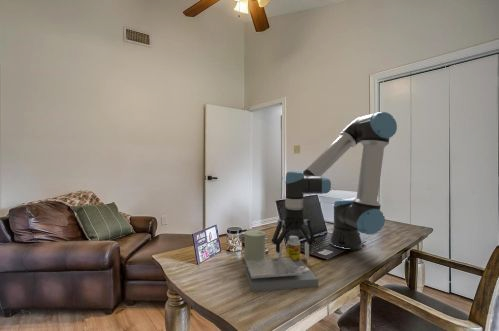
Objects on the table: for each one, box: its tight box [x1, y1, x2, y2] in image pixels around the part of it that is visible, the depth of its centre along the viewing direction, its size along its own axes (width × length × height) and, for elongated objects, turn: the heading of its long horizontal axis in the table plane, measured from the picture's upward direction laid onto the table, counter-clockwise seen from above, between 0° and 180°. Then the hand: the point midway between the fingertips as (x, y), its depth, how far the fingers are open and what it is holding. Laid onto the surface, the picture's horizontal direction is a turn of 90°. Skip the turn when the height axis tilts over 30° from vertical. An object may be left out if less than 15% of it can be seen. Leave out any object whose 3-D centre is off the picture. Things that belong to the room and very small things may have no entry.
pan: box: [244, 257, 303, 278], centre depth 90 cm, size 18×13×1 cm
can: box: [243, 229, 266, 261], centre depth 108 cm, size 9×9×12 cm
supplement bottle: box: [286, 235, 301, 262], centre depth 107 cm, size 6×6×10 cm
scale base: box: [244, 260, 319, 292], centre depth 91 cm, size 23×15×3 cm, turn 100°
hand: (293, 259), depth 107 cm, fingers open, 11 cm apart
